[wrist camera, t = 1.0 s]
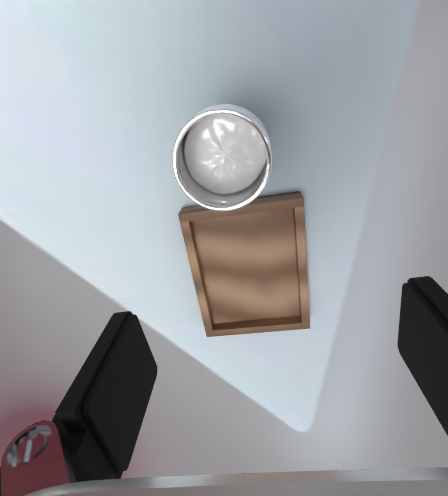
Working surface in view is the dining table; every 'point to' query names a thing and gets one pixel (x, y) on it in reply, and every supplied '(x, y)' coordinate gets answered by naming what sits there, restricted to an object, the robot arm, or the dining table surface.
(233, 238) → the walnut tray
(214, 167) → the beer glass
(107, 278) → the dining table surface
